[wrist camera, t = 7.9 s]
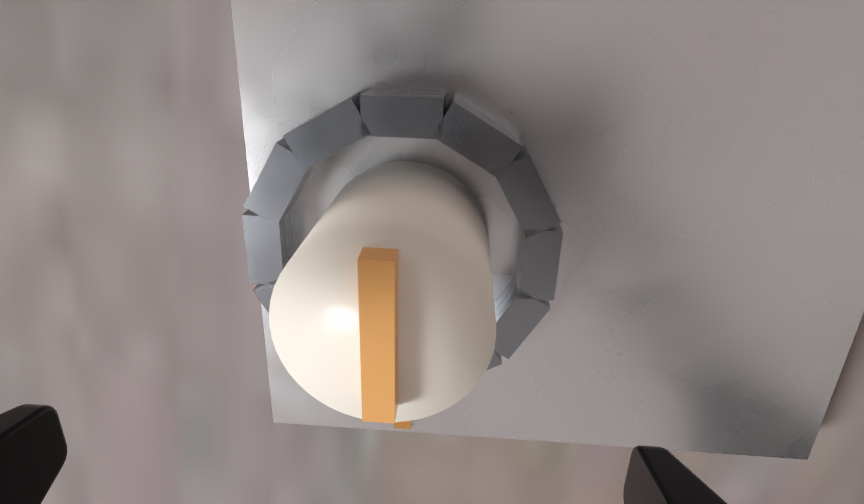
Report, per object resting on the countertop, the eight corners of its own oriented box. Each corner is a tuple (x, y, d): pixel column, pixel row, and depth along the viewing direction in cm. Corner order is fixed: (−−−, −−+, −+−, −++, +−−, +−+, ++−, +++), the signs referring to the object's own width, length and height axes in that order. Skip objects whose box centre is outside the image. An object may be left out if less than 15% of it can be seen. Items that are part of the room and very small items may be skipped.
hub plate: (944, -4, 14) (1033, -9, 12) (788, 434, 19) (829, 487, 17) (245, -26, 15) (206, -34, 13) (284, 400, 20) (261, 446, 18)
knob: (483, 317, 17) (489, 447, 12) (329, 308, 17) (270, 433, 12) (494, 164, 15) (507, 242, 10) (321, 157, 15) (246, 229, 10)
